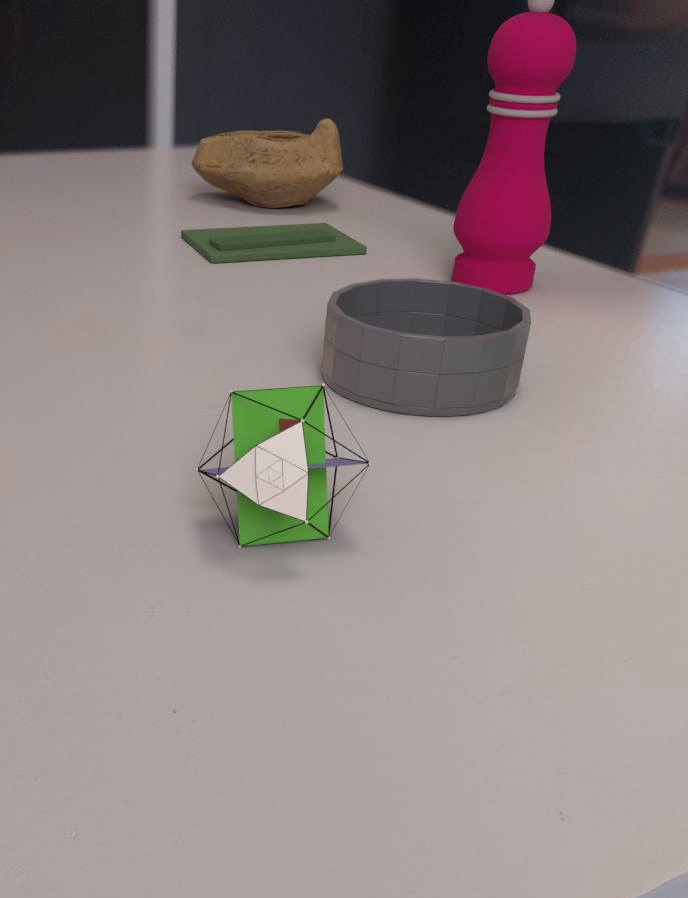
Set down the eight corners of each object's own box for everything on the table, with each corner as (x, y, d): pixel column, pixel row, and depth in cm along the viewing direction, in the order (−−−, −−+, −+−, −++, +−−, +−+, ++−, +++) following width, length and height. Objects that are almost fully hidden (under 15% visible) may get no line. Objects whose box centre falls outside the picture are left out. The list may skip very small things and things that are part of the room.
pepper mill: (492, 301, 77) (548, -12, 66) (426, 278, 82) (467, -18, 71) (557, 288, 81) (621, -13, 69) (489, 266, 86) (539, -18, 74)
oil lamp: (193, 189, 109) (194, 104, 104) (334, 193, 109) (342, 109, 104) (188, 212, 100) (189, 120, 95) (342, 217, 100) (351, 125, 95)
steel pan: (472, 344, 69) (484, 276, 67) (548, 412, 60) (565, 335, 57) (302, 350, 67) (307, 280, 65) (352, 420, 58) (361, 341, 55)
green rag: (325, 229, 95) (326, 216, 95) (366, 253, 88) (367, 240, 88) (180, 237, 92) (180, 224, 91) (211, 263, 85) (211, 249, 84)
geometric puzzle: (180, 445, 49) (204, 347, 42) (316, 434, 51) (363, 338, 43) (205, 583, 47) (235, 507, 40) (346, 568, 49) (402, 492, 41)
